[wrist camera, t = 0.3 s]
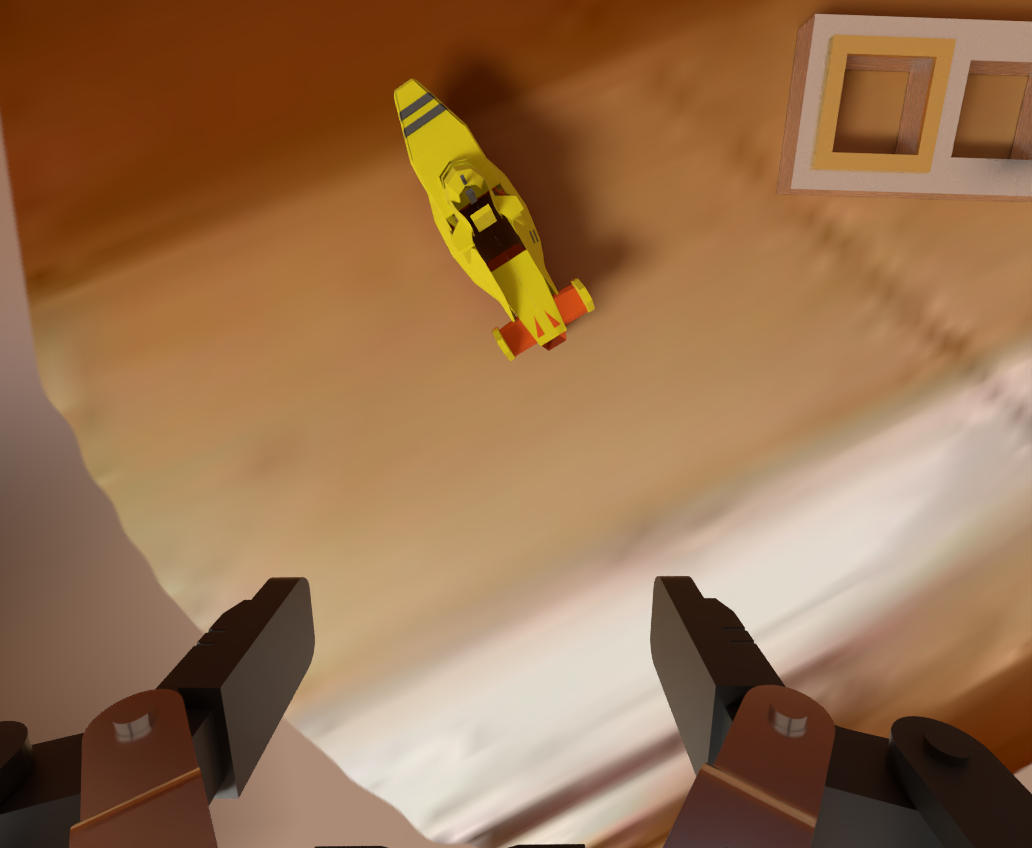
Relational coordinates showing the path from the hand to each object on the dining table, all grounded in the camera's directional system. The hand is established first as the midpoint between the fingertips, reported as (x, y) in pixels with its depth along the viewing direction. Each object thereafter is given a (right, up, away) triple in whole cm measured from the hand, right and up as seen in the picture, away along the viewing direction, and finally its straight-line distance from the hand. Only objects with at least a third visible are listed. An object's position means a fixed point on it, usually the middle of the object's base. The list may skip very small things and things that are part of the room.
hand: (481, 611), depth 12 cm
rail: (+32, +25, +24) cm, 47 cm away
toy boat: (-1, +18, +26) cm, 31 cm away
